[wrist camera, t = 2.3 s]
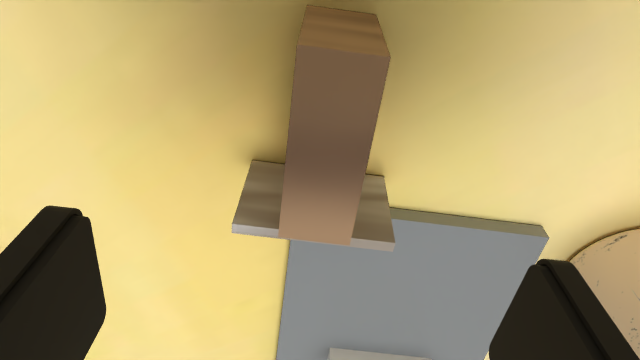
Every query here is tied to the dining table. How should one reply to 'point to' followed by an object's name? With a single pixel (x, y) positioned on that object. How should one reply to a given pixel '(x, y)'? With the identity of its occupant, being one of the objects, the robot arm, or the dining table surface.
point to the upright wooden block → (327, 142)
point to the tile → (366, 355)
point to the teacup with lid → (616, 280)
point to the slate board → (407, 289)
